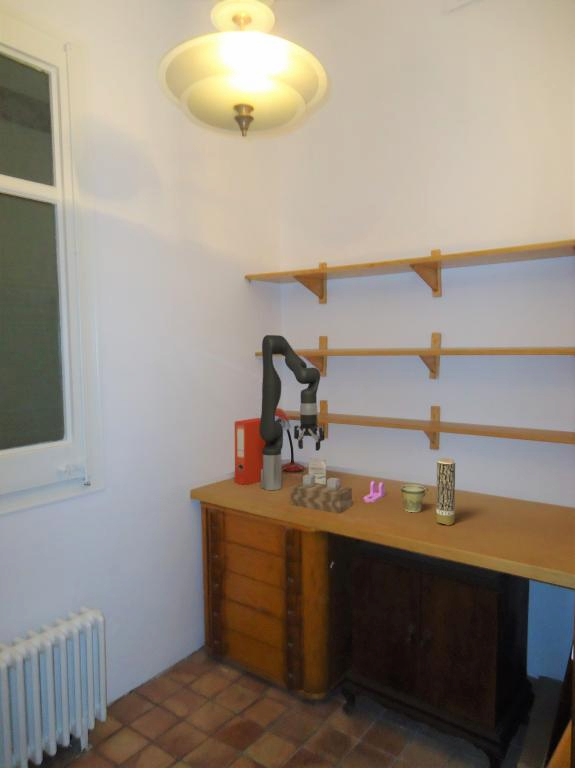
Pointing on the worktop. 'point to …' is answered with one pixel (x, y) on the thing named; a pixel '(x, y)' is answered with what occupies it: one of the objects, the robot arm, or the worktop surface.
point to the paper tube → (445, 491)
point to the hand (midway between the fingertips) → (309, 449)
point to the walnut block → (321, 497)
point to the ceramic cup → (413, 497)
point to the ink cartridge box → (318, 470)
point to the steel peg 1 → (309, 481)
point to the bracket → (373, 494)
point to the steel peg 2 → (333, 484)
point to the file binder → (248, 451)
